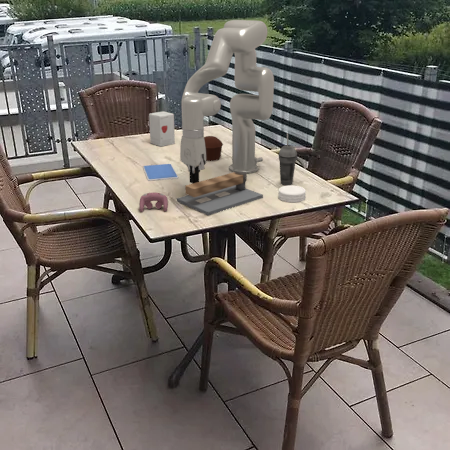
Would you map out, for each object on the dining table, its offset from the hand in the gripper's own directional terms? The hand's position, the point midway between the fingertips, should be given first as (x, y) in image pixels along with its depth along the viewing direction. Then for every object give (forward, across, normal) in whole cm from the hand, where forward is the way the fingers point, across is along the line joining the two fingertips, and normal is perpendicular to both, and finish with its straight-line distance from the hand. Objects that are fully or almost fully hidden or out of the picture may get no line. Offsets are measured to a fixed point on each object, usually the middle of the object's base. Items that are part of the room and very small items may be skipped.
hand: (194, 182), depth 203 cm
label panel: (+6, +8, +5) cm, 11 cm away
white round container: (+6, +24, +26) cm, 36 cm away
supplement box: (+6, -71, +35) cm, 79 cm away
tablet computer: (+6, -32, +7) cm, 34 cm away
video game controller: (+6, +1, -18) cm, 19 cm away
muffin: (+6, -35, +36) cm, 50 cm away
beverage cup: (+6, +12, +36) cm, 39 cm away
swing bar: (+1, +7, +5) cm, 9 cm away
